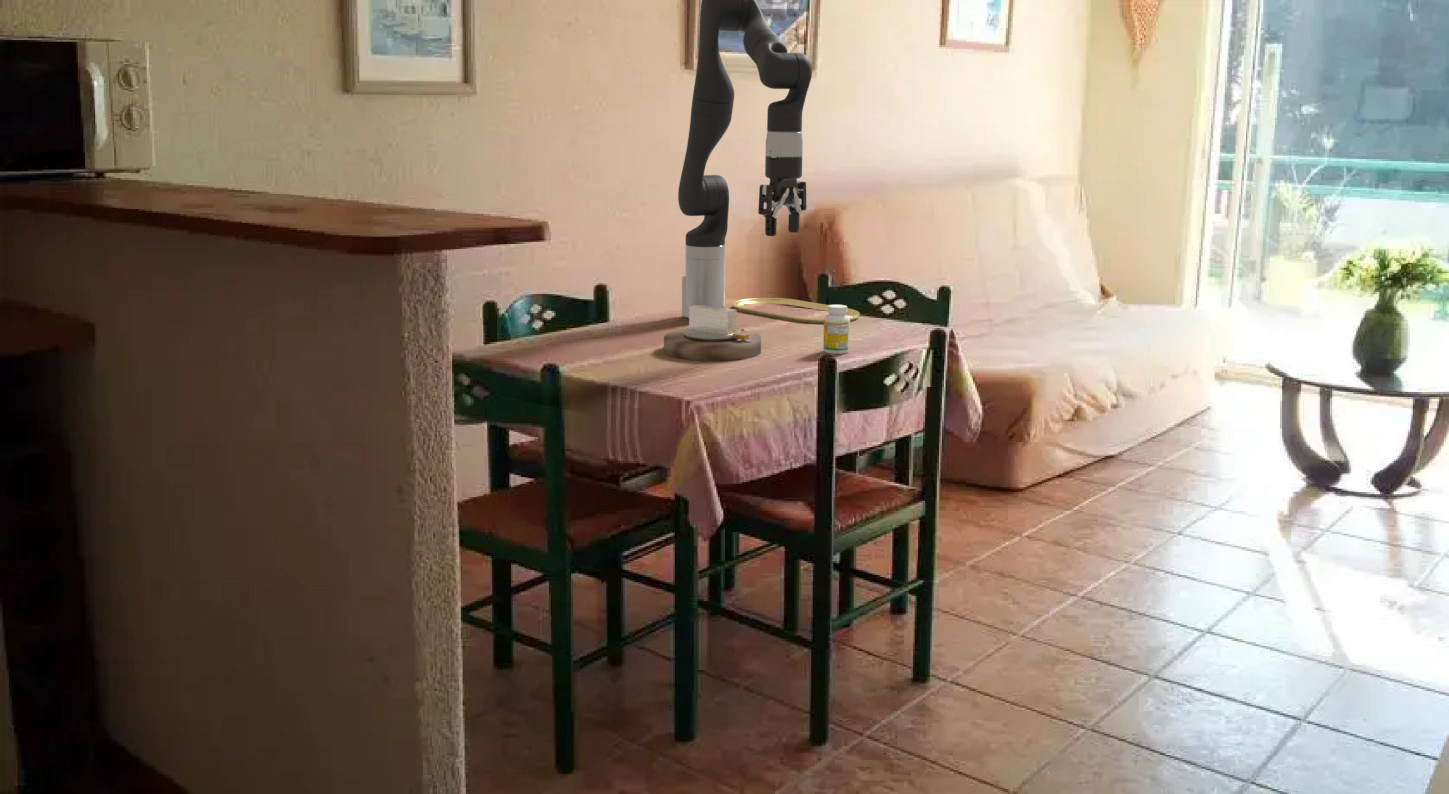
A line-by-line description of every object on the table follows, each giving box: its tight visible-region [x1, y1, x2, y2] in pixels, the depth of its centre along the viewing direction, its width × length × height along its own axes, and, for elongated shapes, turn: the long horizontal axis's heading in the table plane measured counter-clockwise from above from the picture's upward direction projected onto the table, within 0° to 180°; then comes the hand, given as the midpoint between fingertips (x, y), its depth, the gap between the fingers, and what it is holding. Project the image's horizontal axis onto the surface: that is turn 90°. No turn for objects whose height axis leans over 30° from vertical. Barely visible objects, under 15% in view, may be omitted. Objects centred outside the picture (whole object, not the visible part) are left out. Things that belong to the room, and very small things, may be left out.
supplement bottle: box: [822, 304, 851, 355], centre depth 265 cm, size 5×5×10 cm
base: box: [663, 328, 762, 362], centre depth 266 cm, size 20×20×3 cm
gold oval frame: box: [732, 297, 860, 324], centre depth 313 cm, size 19×35×2 cm, turn 44°
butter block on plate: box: [683, 304, 749, 341], centre depth 264 cm, size 15×12×6 cm
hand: (782, 234), depth 266 cm, fingers open, 8 cm apart
